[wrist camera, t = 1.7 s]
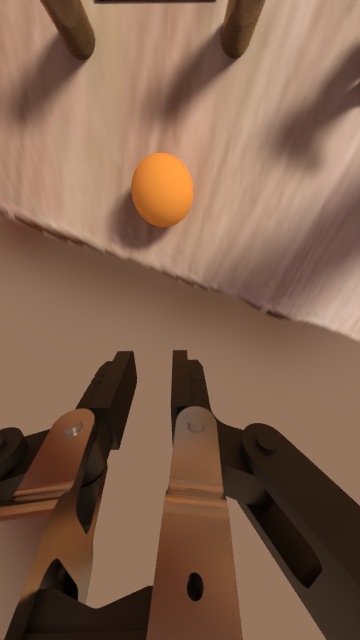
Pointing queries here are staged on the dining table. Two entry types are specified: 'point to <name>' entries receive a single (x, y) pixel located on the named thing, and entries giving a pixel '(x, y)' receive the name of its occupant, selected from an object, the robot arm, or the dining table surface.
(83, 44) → the post
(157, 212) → the ball
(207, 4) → the dining table surface
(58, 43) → the dining table surface
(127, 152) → the dining table surface
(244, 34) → the post
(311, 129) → the dining table surface
